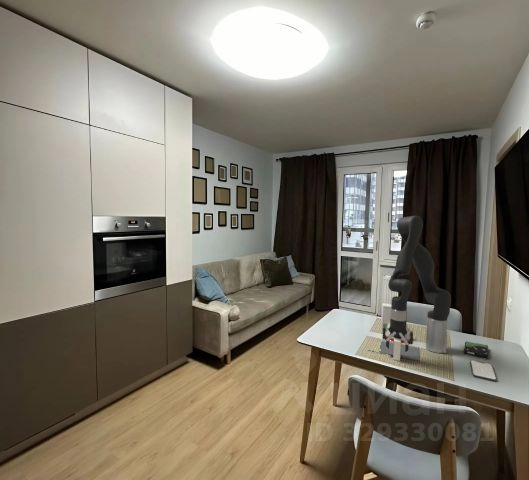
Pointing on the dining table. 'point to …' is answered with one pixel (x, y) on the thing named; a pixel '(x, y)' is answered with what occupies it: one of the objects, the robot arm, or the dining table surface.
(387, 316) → the skincare box
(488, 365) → the phone case
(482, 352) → the disk drive
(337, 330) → the dining table surface
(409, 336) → the kitchen timer
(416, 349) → the mat
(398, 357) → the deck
